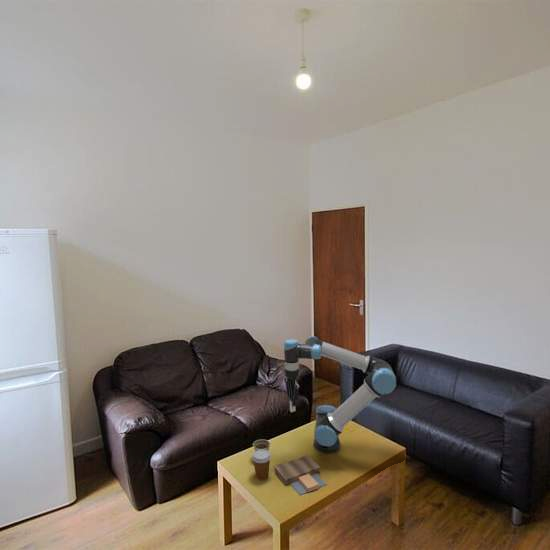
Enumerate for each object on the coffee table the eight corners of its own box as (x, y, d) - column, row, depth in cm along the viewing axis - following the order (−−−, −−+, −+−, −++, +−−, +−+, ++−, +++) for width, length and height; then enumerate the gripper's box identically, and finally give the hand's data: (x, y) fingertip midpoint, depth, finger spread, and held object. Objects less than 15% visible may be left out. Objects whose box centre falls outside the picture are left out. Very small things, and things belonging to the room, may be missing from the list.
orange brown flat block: (308, 477, 180) (308, 473, 180) (318, 488, 172) (318, 484, 172) (298, 481, 178) (298, 477, 177) (308, 492, 170) (308, 488, 169)
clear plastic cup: (268, 465, 191) (268, 450, 190) (251, 463, 193) (250, 448, 192) (272, 455, 200) (271, 440, 199) (255, 453, 202) (255, 438, 201)
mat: (316, 474, 183) (316, 473, 183) (326, 484, 175) (326, 484, 175) (290, 484, 176) (290, 483, 176) (299, 495, 168) (299, 494, 168)
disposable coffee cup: (256, 484, 176) (255, 461, 175) (250, 473, 185) (249, 451, 184) (274, 479, 180) (273, 456, 179) (267, 468, 189) (266, 446, 187)
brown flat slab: (307, 460, 195) (307, 454, 194) (320, 472, 184) (320, 467, 184) (274, 471, 186) (274, 466, 185) (285, 485, 175) (285, 479, 175)
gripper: (279, 366, 197) (280, 407, 199) (291, 374, 185) (292, 417, 188) (291, 363, 200) (292, 404, 203) (304, 371, 189) (305, 414, 191)
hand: (292, 411), depth 195 cm, fingers closed
